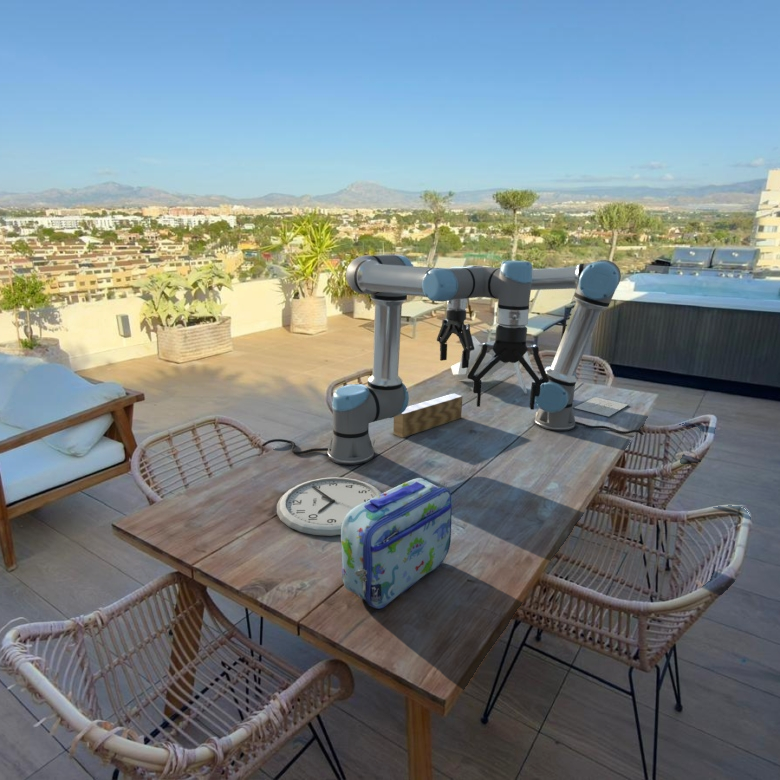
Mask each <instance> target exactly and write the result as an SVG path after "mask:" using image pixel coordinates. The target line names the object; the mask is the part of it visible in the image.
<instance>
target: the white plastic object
mask: <svg viewBox="0 0 780 780" xmlns="http://www.w3.org/2000/svg"><path fill="white" fill-rule="evenodd" d="M471 337H472V341H473V345H474V350H472V351H470V359H469V366H468V368H462V356H461V357H460V361H459V362H457V363H455V364H454V365H451V366H450V369H451V373H452V376H453V377H454V379H455V380H456V381H465V380H469V379H468V378H467V373H468V372H469V370H470V368H471V367H472V365H473V363H474V362H475V360H476V358H477V357H478V355H479V353H480V352H481V348H482V344H483V343H484V342H483V343H481V342H480V341H479V340H478V339H477V337H476V336H475V335H471ZM485 343H487V344H491V345H494V343H495V340H491V341H486V342H485ZM466 348H467V347H466ZM463 350H464V349H463V348H462V351H463ZM494 355H495V352H494V351H493V349H491V350H490V351H489V352H488V353H486V355H485V357H484V359H483V360H482V362H481V364H480V365H479V367H478V369H477V370H476V372H475V375H476V374H477V373H478V372H479V371H480V370H481V369H482V368H483V367H484V366H485V365H486V364H487V363H488V362H489V361H490V360H491V359H492V357H493V356H494ZM523 358H524V359H525V360H526V362H527V363H528V364H529V366H530V367H531V368H532V370H533V371H534V368H533V365H532V363H531V359H530V356H529V353H528V351H527V352H526V353H525V354H524V355H523ZM508 363H509V362H506V363H504V362H502V361H499V362H498V363H497V364H495V365H494V366H493V367H492V368H491V369H490V370H489V371H488V372H487V373H486V374H485V375H484V376H483V377H482V378H481V379H484V380H486V379H489V378H491V377H494V374H495V373H496V372H498V371H499V370H500V369H502V368H503V367H504V366H505V365H507V364H508ZM512 364H513V367H514V368H513V369H514V371H515V373H516V374H515V375H516V378H517V380H518V383H519V387H520V388H521V389H522V391H523V392H524V394H527V391H528V389H527V386H526V383H525V381H524V377H523V373H522V371H521V368H520V365H519V364H520V363H519V361H518V362H515V363H512ZM529 377H530V380H531V383H532V382H535V381H534V380H533V378H532V377H531V376H530V375H529Z"/></svg>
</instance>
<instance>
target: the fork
mask: <svg viewBox="0 0 780 780" xmlns="http://www.w3.org/2000/svg"><path fill="white" fill-rule="evenodd" d="M437 487H439V488H442V487H444V488H447V487H448V484H446V483H445V482H444V483H443V484H441V482H439V484H438V486H437Z"/></svg>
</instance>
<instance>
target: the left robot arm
mask: <svg viewBox="0 0 780 780" xmlns="http://www.w3.org/2000/svg"><path fill="white" fill-rule="evenodd" d="M466 267H467V268H451V267H450V268H449V267H447V268H446V267H430V266H416V265H415V266H414V264H413V263H412V262H411V260H410V259H409V258H408V257H407V256H406V255H403V254H402V255H401V254H373V255H371V254H367V255H360V256H357V257H356V258H354V259H353V260H351V262H349V264H348V266H347V268H346V272H345V279H346V282H347V285H348V286H349V288H350V289H351V290H352V291H353V292H355V293H356V294H359V295H370V300H372V301H373V303H374V320H373V323H374V325H373V350H372V351H373V352H372V374H371V375H370V376H369V377H368V378H367V386H366V385H365V384H361V383H354V384H346V385H343V386H340V387H338V388H337V389H335V390H334V392H333V394H332V403H331V407H332V436H331V439H330V442H329V445H328V447H322V448H321V447H315V448H310V449H305V450H299V451H298V450H295V448H296V442H294V441H293V440H288V439H282V438H274V439H269V440H267V441H264V443H263V444H262V445H261V447H265V446H267V445H269V444H271V443H276V442H278V443H280V442H281V443H286V444H291V445H292V446H291V450H290V451H291V452H292V453H293V454H295V455H304V454H308V453H311V452H327V458H328V459H329V461H331V462H333V463H335V464H338V465H344V466H357V465H364V464H366V463H368V462H370V461H371V460H373V458H374V457H375V449H374V446H375V443H376V442H375V440H376V439H375V438H373V442H372V440H371V437H370V433H369V424H371V423H375V422H378V421H383V420H387V419H393V418H394V417H395V416H397V415H400V414H401V413H403V412H404V411H405V409H406V408H407V407H408V406H409V401H410V395H409V391H407V389H408V388H407V386H406V385H405V384H404V383H403V379H402V378H401V377H400V376H399V367H400V347H401V332H402V331H401V330H402V329H401V328H402V327H401V326H402V312H403V311H402V310H403V309H402V308H403V304H404V303H405V302H406V301H407V300H408V296H413V297H421V298H428V300H430V301H432V302H447V300H455V299H466V298H467V299H475V298H489V299H496V300H497V314H496V323H497V325H496V326H495V335H494V337H495V338H494V341H495V343H494V345H491V344H487V343H486V342H483V344H482V343H481V344H482V348H481V352H480V353H479V355H478V357H477V358H476V360H475V362H474V363H473V365H472V367H471V368H470V370H469V372H468V373H467V378H468V379H467V380H470V381H471V380H472V381H473V384H472V385H473V386H472V389H473V390H472V391H473V394H476V407H477V408H480V407H481V400H482V399H481V398H482V384H483V382H482V379H483V378H484V377H483V376H484V375H485V374H486V373H487V372H488V371H489V370H490V369H491V368H492V367H493V366H494V365H495V364H497V363H498V362H499V361H502V362H504V363H506V362H508V363H512V364H513V363H515V362H518V363H519V364H520V365H521V366H522V367H523V368H524V370H525V371H526V372H527V373H528V374H529V377H530V376H531V377H532V378H533V380H534V381H535V382H532V381H531V387H530V396H529V405H528V406H529V409H530V410H531V411H534V410H535V404H536V402H535V396H537V397H539V395H540V387H541V384H542V383H548V382H549V379H548V377H547V374H546V372H545V367H544V365H543V363H542V360H541V357H540V349H539V348H540V347H539V346H538V345H537V344H535V343H534V344H532V345H527V336H528V327H527V325H528V324H529V323H528V322H529V314H530V313H529V312H530V301H531V293H532V292H531V291H532V290H531V286H532V281H533V279H532V269H534V268H533V264H532V262H530V261H527V260H503V261H502V262H501V264H500V267H491V266H483V265H469V266H466ZM491 349H493V351H494V352H495V355H494V356H493V357H492V359H491V360H490V361H489V362H488V363H487V364H486V365H485V366H484V367H483V368H482V369H481V370H480V371H479V372H478V373H477V374H476V375H475V372H476V370H477V369H478V367H479V365H480V364H481V362H482V360H483V359H484V357H485V355H486V353H488V352H489V351H490V350H491ZM526 352H527V353H528V352H529V354H530V355H532V357H533V359H534V362H535V364H536V367H537V369H538V371H539V374H540V376H541V377H539V376H538V375H537V374H536V372H535V371H534V369H533V370H532V368H533V367H532V368H531V367H530V366H529V364H528V363H527V362H526V360H525V358H524V354H525V353H526ZM482 377H483V378H482ZM531 377H530V378H531Z"/></svg>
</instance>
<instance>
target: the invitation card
mask: <svg viewBox="0 0 780 780" xmlns="http://www.w3.org/2000/svg"><path fill="white" fill-rule="evenodd" d="M628 406H629V404H627V403H623V402H618V401H614V400H609V399H605V398H601V397H596V396H593V397H592V398H590V399H588V400H586V401H584V402H582V403H580V404H578V405H575V406H574V407H573V409H575V410H581V411H584V412H587V413H593V414H596V415H600V416H604V417H608V418H609V417H611V416H613V415H614V414H616V413H617V412H619V411H621V410H623V409H624V408H626V407H628Z"/></svg>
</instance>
